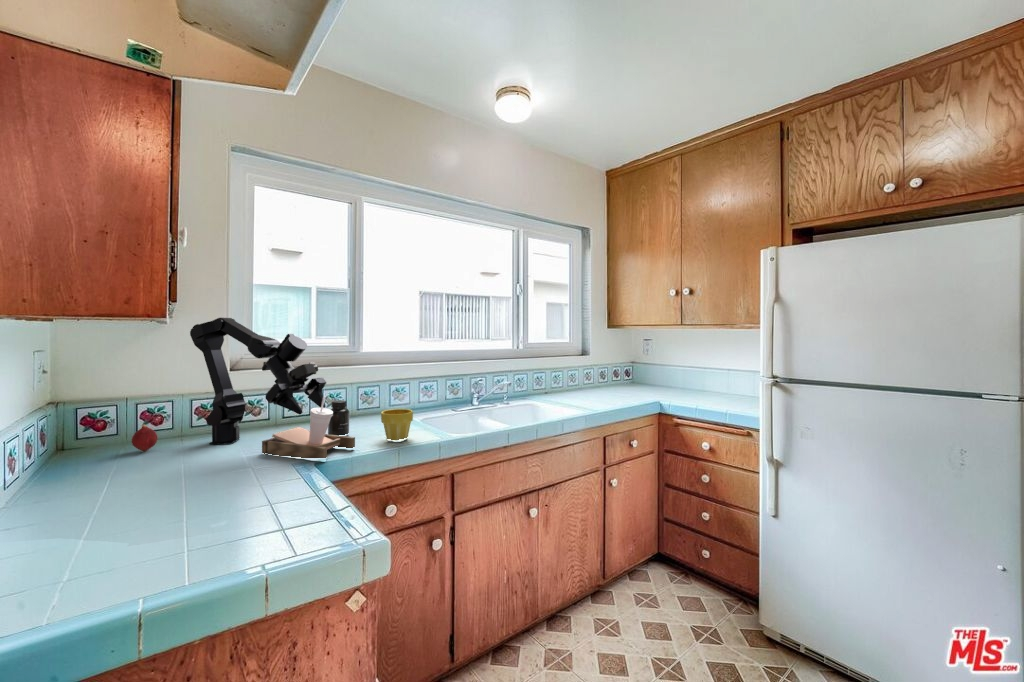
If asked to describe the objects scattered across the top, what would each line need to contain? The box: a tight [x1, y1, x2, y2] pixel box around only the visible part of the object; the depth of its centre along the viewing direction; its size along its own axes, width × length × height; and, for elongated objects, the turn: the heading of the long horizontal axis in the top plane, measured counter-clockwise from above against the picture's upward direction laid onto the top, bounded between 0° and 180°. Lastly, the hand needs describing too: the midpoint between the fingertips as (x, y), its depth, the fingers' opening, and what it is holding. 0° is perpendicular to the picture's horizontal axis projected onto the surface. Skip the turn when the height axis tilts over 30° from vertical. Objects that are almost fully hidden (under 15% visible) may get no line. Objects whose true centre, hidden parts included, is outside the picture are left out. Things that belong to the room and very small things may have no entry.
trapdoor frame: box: [261, 433, 356, 458], centre depth 128 cm, size 22×13×4 cm, turn 72°
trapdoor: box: [271, 426, 341, 450], centre depth 128 cm, size 16×10×5 cm, turn 73°
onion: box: [131, 424, 159, 453], centre depth 126 cm, size 6×6×8 cm
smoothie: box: [309, 396, 333, 444], centre depth 126 cm, size 6×6×14 cm
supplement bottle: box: [327, 400, 350, 435], centre depth 148 cm, size 7×7×12 cm
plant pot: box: [380, 408, 414, 440], centre depth 143 cm, size 10×10×10 cm
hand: (313, 410), depth 127 cm, fingers open, 9 cm apart
